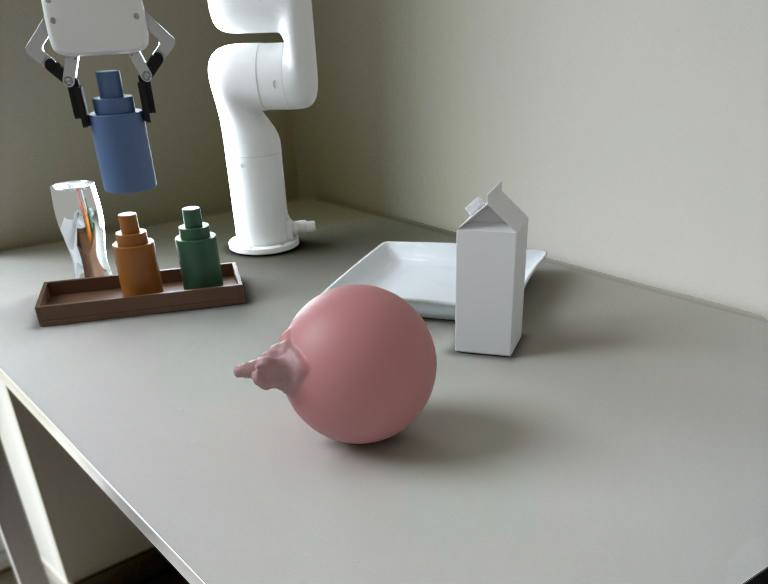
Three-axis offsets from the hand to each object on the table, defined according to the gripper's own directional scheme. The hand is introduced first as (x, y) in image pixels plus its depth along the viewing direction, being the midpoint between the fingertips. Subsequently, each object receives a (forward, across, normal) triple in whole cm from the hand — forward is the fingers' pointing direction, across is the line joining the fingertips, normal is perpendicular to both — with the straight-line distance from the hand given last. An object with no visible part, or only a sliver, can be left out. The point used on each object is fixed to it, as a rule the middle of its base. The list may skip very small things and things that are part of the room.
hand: (117, 121), depth 89 cm
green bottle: (+26, -7, -21) cm, 34 cm away
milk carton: (+27, -40, +13) cm, 50 cm away
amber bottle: (+26, +2, -21) cm, 34 cm away
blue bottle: (+7, 0, 0) cm, 7 cm away
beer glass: (+28, +10, -34) cm, 45 cm away
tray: (+27, +2, -21) cm, 34 cm away
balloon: (+27, -17, +31) cm, 45 cm away
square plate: (+27, -41, -8) cm, 50 cm away
